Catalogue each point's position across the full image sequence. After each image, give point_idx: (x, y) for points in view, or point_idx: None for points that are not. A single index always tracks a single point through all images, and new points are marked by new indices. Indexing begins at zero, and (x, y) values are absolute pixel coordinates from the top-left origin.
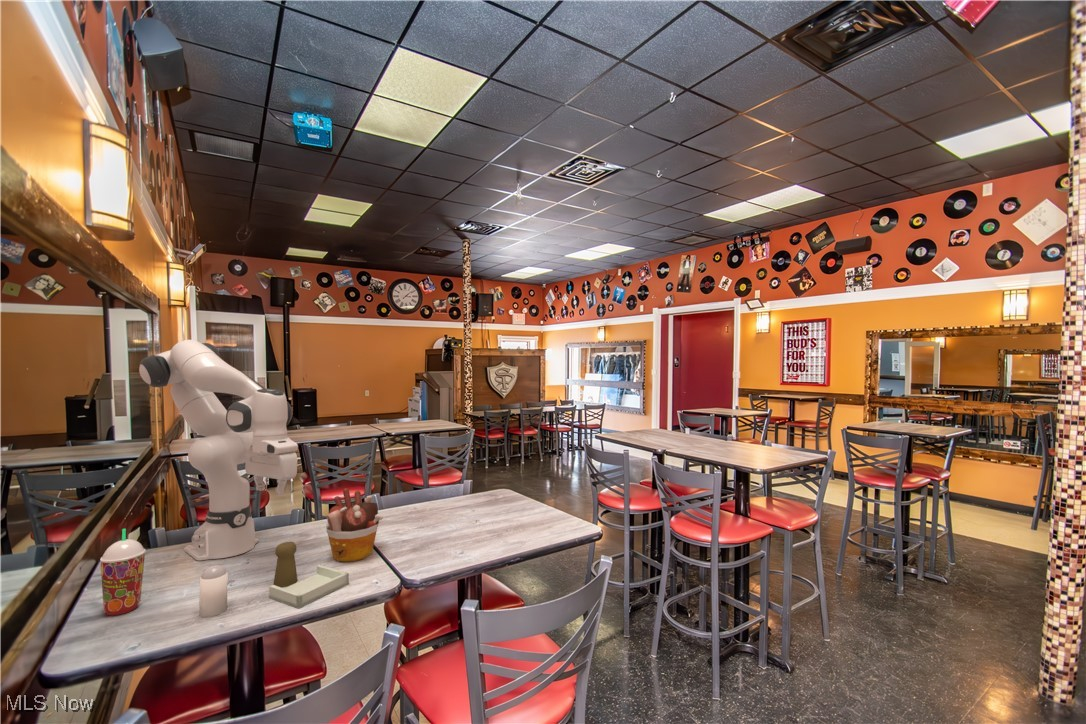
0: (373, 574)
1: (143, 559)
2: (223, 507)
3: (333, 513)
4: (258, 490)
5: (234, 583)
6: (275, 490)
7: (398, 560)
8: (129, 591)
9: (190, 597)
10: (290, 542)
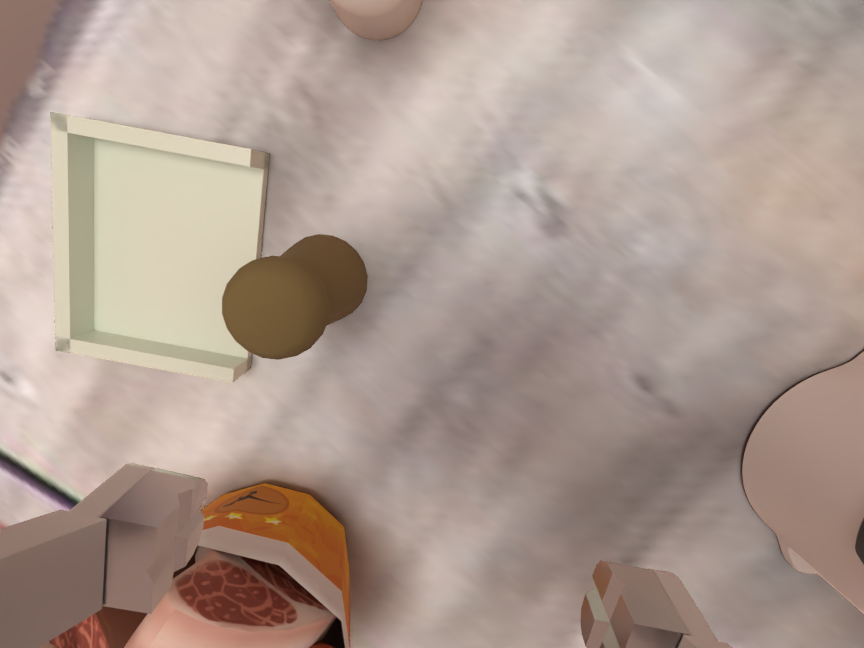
0: (71, 428)
1: None
2: None
3: (151, 630)
4: (631, 566)
5: (522, 211)
6: (166, 502)
7: None
8: None
9: (588, 51)
10: (255, 335)
